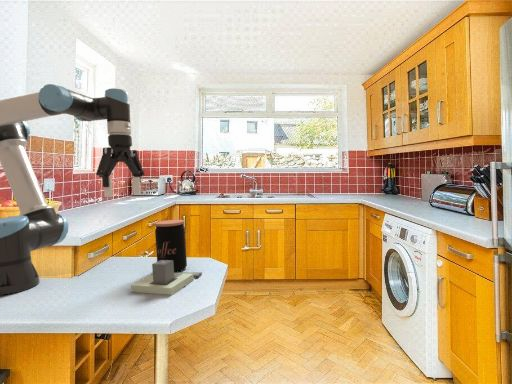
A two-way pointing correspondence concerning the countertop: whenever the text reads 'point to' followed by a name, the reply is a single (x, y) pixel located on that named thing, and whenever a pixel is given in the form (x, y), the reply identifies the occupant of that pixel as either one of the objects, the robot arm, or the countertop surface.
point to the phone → (195, 274)
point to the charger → (163, 272)
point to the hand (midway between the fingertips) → (123, 195)
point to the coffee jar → (171, 243)
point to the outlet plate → (149, 287)
